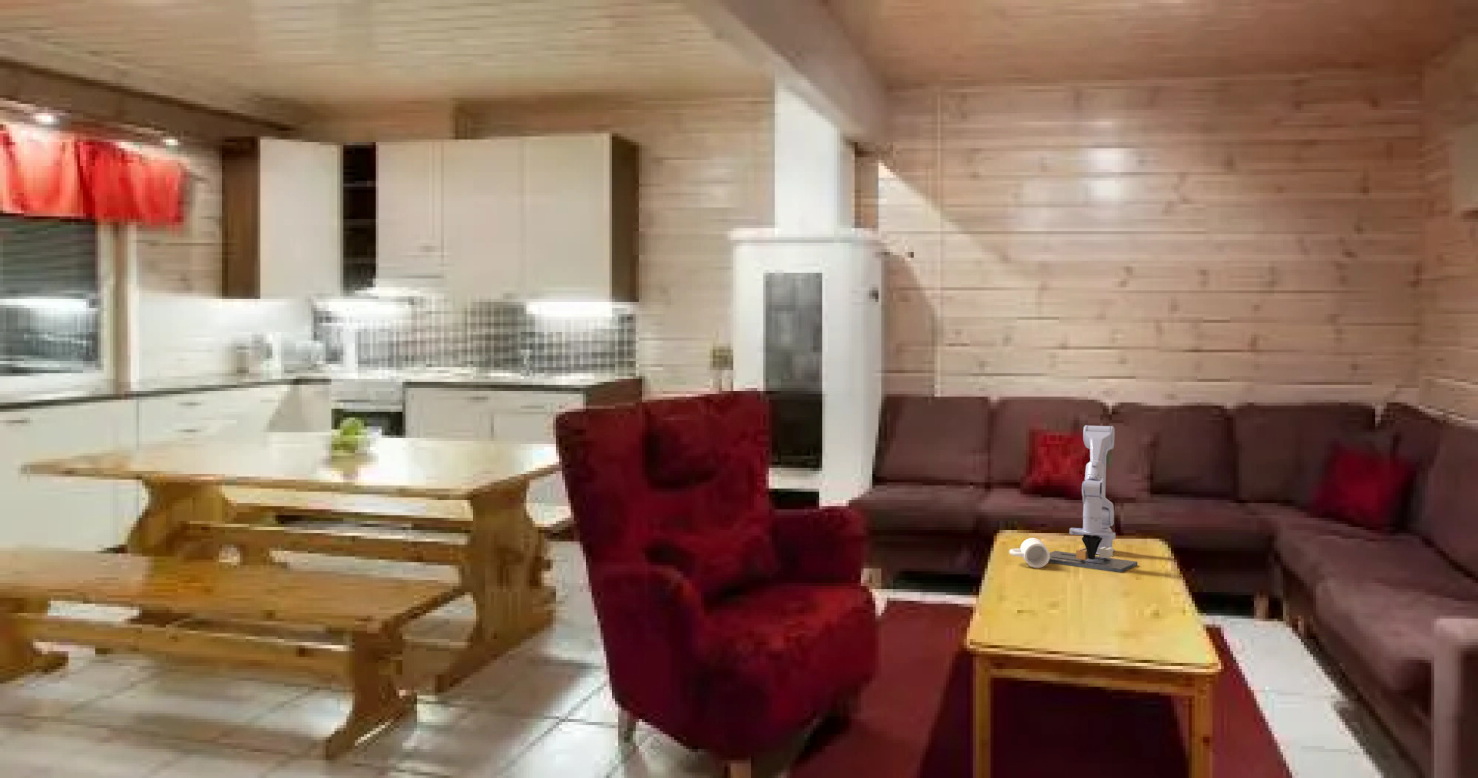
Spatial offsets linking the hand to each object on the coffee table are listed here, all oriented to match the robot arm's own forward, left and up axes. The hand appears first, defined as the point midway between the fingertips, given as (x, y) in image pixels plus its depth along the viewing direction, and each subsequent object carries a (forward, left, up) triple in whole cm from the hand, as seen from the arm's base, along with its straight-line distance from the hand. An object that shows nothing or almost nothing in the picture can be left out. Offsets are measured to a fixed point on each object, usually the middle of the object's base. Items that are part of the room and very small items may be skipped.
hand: (1091, 558), depth 367 cm
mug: (+11, -17, -3) cm, 20 cm away
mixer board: (-3, -3, -2) cm, 5 cm away
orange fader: (0, -3, -1) cm, 3 cm away
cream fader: (-7, +2, -1) cm, 7 cm away
